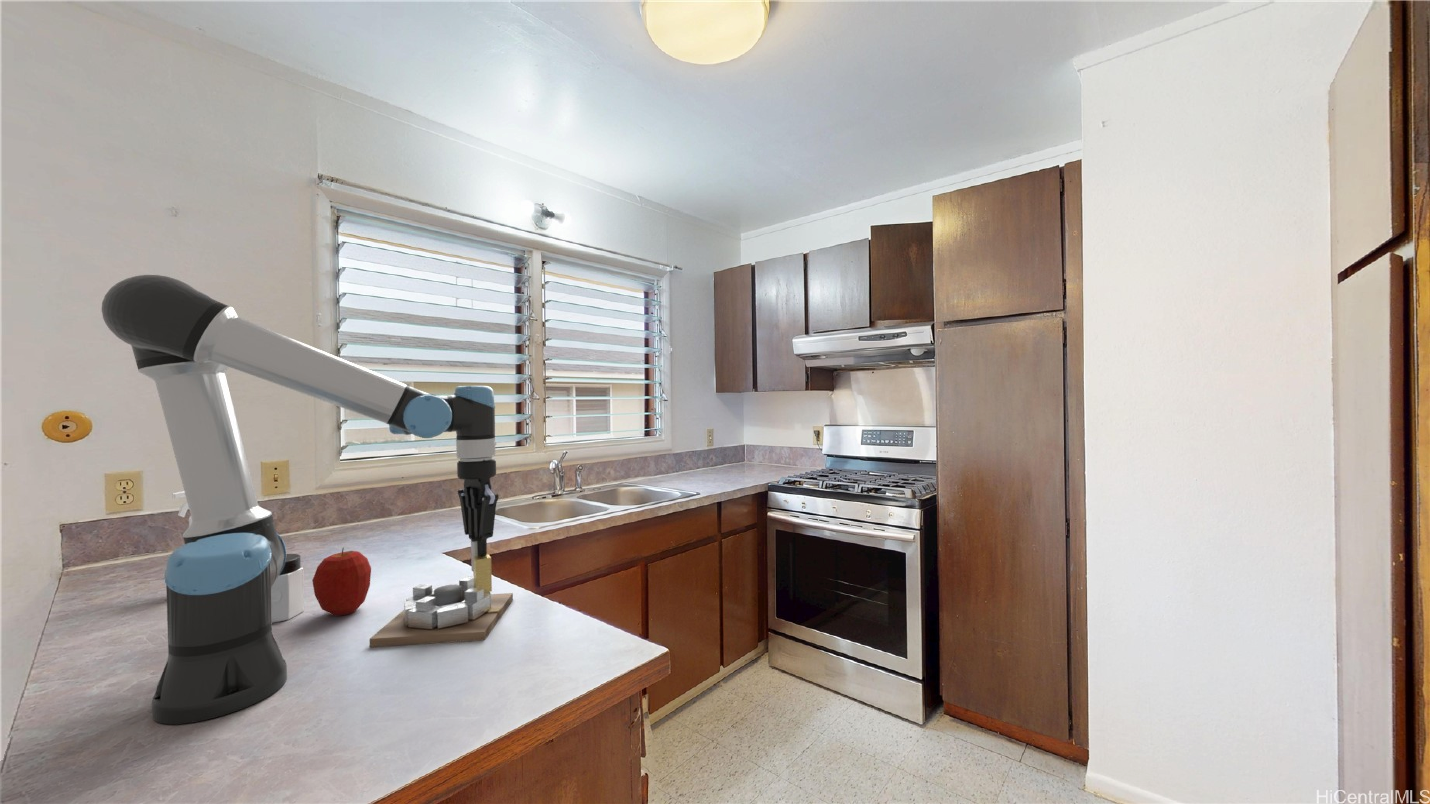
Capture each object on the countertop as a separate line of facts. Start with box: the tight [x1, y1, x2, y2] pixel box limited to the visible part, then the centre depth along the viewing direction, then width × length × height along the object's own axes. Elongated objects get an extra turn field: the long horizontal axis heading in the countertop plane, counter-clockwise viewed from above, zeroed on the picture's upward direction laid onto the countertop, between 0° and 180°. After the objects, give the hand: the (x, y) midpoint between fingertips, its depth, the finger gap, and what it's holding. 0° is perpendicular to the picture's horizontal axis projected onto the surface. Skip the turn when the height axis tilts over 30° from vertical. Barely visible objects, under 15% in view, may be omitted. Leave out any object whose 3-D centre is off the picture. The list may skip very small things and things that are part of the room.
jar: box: [271, 553, 305, 624], centre depth 112 cm, size 9×8×12 cm
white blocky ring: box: [403, 553, 493, 629], centre depth 109 cm, size 16×15×10 cm
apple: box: [312, 547, 372, 617], centre depth 114 cm, size 10×10×14 cm
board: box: [369, 584, 514, 648], centre depth 109 cm, size 20×20×6 cm
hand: (479, 569), depth 114 cm, fingers closed
